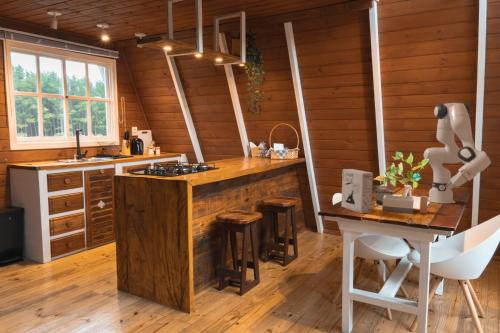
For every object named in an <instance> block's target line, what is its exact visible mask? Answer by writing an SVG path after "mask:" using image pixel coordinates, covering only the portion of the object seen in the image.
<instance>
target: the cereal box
mask: <svg viewBox="0 0 500 333" xmlns="http://www.w3.org/2000/svg"><path fill="white" fill-rule="evenodd" d="M373 176H374V172H371V171H364V170H361V169H360V170H359V169H355V168H347V169H346V168H343V169H342V177H341V178H342V179H341V180H342V181H341V182H342V183H341V207H342V208H344V209H348V210H350V211H352V212H356V213H360V214H370V213H372V201H373V200H372V199H373V198H372V197H373Z"/></svg>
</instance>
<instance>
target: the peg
mask: <svg viewBox="0 0 500 333" xmlns="http://www.w3.org/2000/svg"><path fill="white" fill-rule="evenodd" d="M428 198H429V195H428V196H426V195H420V201H419V202H420V203H419V213H421V214H427V211H428V201H427V200H428Z"/></svg>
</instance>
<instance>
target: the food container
mask: <svg viewBox="0 0 500 333" xmlns="http://www.w3.org/2000/svg"><path fill="white" fill-rule="evenodd" d="M374 194H375V201H376V202H375V203H376V206H377V205H378V206H383V197H384V195H395V194H394V191H393V190H391V189H382V188H381V189H375V191H374Z"/></svg>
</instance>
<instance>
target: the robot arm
mask: <svg viewBox="0 0 500 333" xmlns="http://www.w3.org/2000/svg"><path fill="white" fill-rule="evenodd" d="M433 110H434V111H433V113H434V114H433V115H434V117H435V118H436V119H438V120H437V126H436V139H437V141H438V142H439V143H441V144H443V145H444V147H428V148H426V149H425V150H424V152H423V158H424V160H425V159H429V161H428V162H427V163H428V164H429V165H430V167H431V169H432V173H433V176H432V178H433V181H432V184H431V185H432V187H431V188H430V189H429V191H428V200H427V202H431V203H435V204H456V201H455V200H453V199H454V198H453V197H454V194H453V188H459V187H461V186H462V185H463V184H464V185H465V184H466V183H467V182H470V181H471V180H472V179H474V178H475V177H476V176H478V174H479V173H481V172H483V171H484V170H486V169H487V168H488V167H489V166H490V165H491V163H492V161H493V160H492V158H491V157H490V156H489V154H488V153H487V152H486V151H484V150H483V151H482V150H478V149H477V148H476V145H475V142H474V139H473V138H474V137H473V133H472V126H471V124H472V123H471V119H470V114H471V107H470V105H469V103H464V102H461V103H460V102H448V103H438V104H436V105H435V107H434V109H433ZM455 135H456V136H457V137H458V139H459V140H460V141H461V144H462V147H461V148H460V147H459V146H458V145H457V144H456V141H455ZM458 163H462V164H463V166H461V167H460V168H459V169H458V170H457V171H458V172H457V173H456V174H454V175H453V176H452V173H451V171H450V169H448V168H447V167H445V166H443V164H458ZM451 176H452V177H451Z"/></svg>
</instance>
